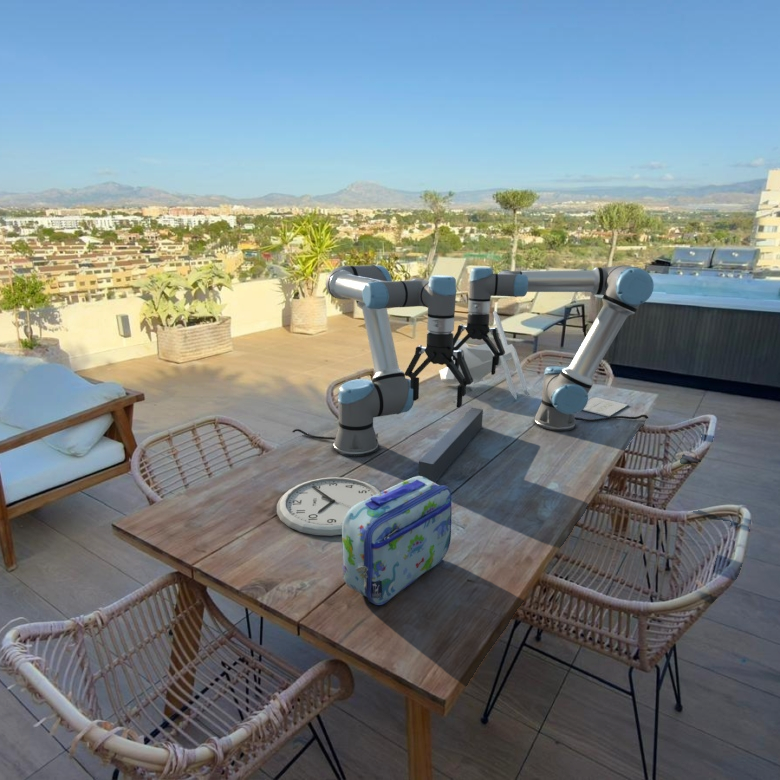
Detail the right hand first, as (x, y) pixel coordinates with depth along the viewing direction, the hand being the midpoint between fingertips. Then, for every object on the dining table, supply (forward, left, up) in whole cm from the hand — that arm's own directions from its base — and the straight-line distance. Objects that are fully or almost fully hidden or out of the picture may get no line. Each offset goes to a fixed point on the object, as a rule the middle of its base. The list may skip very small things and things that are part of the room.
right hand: (474, 371), depth 189 cm
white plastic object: (-6, -51, -24) cm, 56 cm away
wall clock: (+39, +60, -24) cm, 76 cm away
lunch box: (+18, +88, -24) cm, 93 cm away
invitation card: (-57, -39, -24) cm, 73 cm away
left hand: (+12, +38, 0) cm, 40 cm away
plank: (+6, +19, -24) cm, 31 cm away
